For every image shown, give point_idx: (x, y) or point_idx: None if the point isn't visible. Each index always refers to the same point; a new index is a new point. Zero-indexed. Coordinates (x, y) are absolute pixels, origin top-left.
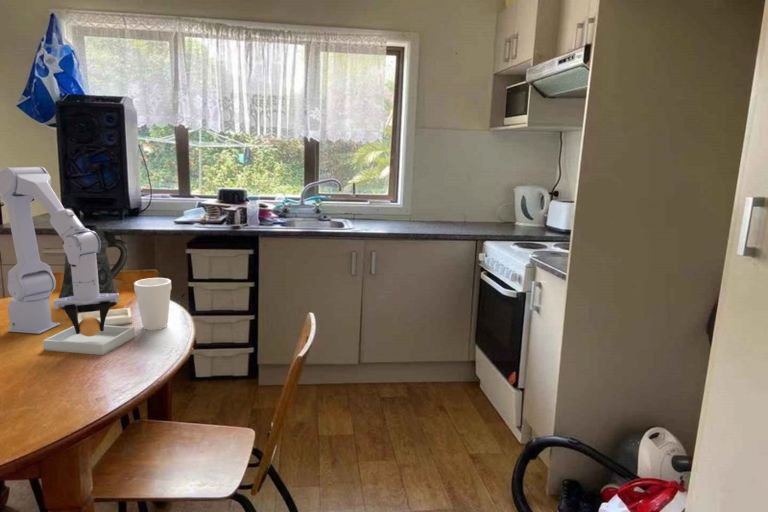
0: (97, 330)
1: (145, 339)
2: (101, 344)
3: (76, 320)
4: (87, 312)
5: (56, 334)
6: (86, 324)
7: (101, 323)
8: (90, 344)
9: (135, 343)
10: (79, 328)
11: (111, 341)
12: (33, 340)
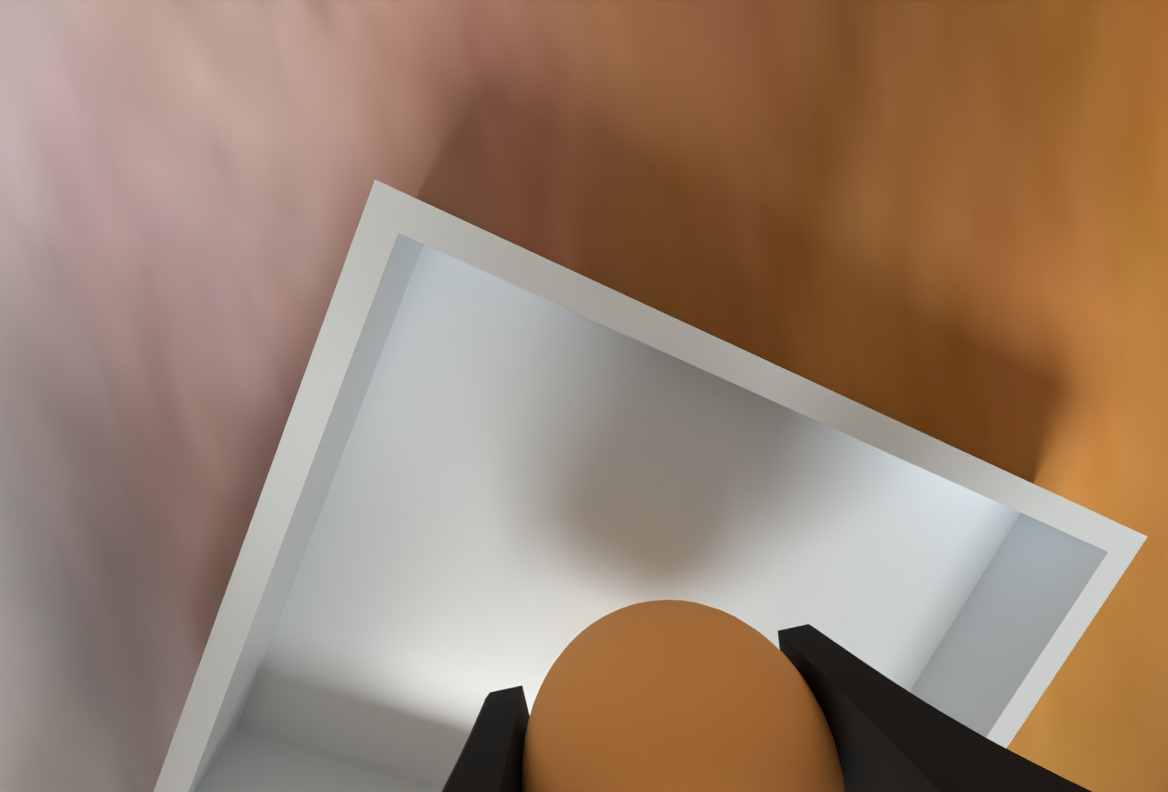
0: (552, 666)
1: (65, 623)
2: (407, 213)
3: (942, 781)
4: None
5: (1021, 706)
6: (721, 711)
7: (485, 777)
8: (571, 271)
9: (145, 518)
10: (808, 687)
11: (315, 367)
12: (1131, 750)
